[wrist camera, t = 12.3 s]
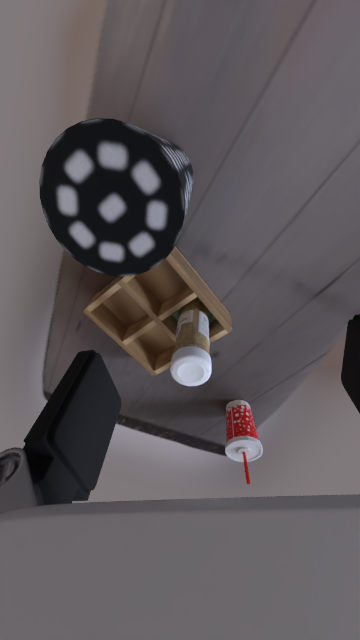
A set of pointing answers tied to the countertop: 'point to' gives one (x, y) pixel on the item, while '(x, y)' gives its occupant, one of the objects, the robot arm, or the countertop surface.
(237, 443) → the beverage cup
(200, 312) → the sprinkles bottle
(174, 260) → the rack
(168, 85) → the countertop surface
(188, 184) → the spotted tube
